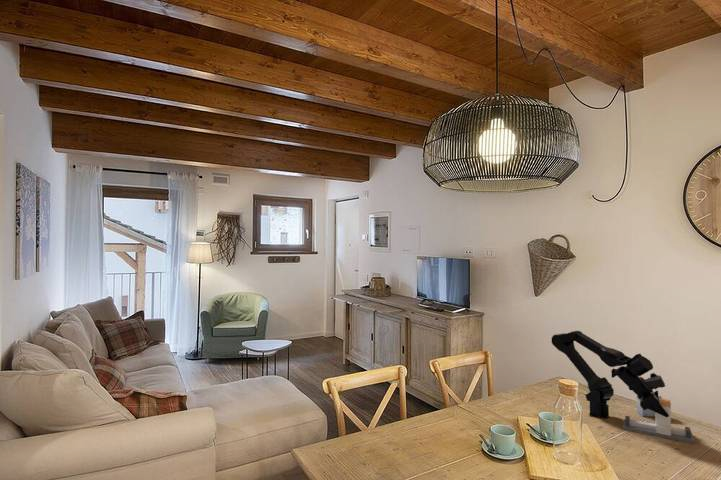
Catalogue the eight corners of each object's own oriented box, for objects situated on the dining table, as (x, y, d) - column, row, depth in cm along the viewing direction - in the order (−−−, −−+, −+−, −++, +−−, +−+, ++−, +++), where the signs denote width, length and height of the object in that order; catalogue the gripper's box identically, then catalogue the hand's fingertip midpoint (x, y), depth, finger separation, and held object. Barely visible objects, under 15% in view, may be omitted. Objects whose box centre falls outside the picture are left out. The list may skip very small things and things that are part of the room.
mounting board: (622, 429, 162) (622, 420, 163) (623, 421, 169) (623, 413, 169) (694, 443, 150) (694, 434, 150) (692, 435, 157) (691, 426, 157)
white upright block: (656, 432, 157) (656, 402, 157) (655, 425, 163) (655, 396, 163) (670, 435, 154) (671, 405, 154) (669, 428, 161) (669, 398, 161)
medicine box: (656, 412, 178) (655, 392, 178) (662, 417, 173) (662, 396, 173) (636, 412, 178) (636, 392, 178) (642, 416, 174) (642, 395, 174)
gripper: (650, 374, 153) (688, 410, 147) (649, 362, 169) (683, 394, 162) (625, 392, 158) (662, 428, 151) (626, 378, 173) (659, 410, 167)
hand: (667, 414), depth 158 cm, fingers closed on white upright block, 4 cm apart
